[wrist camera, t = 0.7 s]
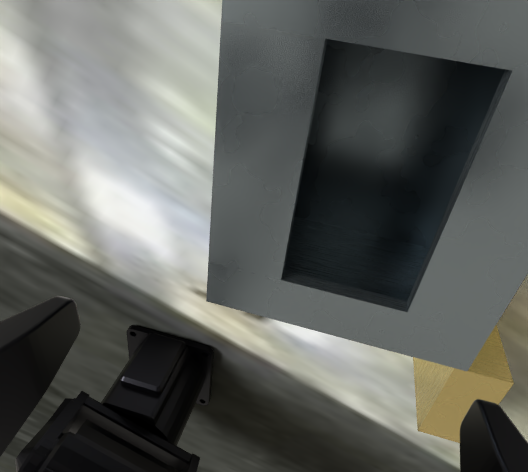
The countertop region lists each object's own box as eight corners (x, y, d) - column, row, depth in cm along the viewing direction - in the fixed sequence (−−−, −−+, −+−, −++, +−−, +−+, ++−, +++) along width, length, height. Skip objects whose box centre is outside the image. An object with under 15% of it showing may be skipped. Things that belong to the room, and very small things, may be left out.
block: (455, 367, 25) (468, 445, 21) (413, 355, 25) (417, 430, 21) (491, 306, 22) (513, 383, 18) (442, 294, 23) (454, 367, 18)
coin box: (445, 255, 21) (467, 371, 15) (255, 211, 23) (206, 301, 17) (571, -21, 14) (701, -10, 8) (288, -60, 16) (226, -75, 10)
